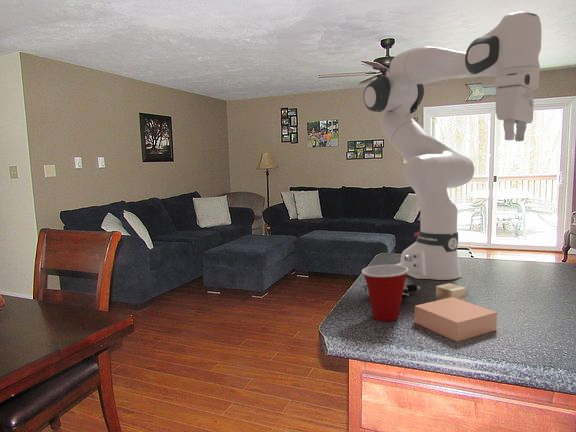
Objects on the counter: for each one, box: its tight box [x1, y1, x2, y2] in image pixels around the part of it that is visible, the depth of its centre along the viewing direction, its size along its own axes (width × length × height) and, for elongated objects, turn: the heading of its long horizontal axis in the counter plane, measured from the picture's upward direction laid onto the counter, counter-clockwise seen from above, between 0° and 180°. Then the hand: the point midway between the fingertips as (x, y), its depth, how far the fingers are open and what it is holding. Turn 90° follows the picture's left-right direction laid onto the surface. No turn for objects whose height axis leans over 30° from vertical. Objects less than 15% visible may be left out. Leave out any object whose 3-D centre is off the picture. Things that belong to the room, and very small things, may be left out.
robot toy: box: [359, 281, 421, 300], centre depth 113 cm, size 12×4×15 cm
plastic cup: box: [361, 264, 408, 322], centre depth 98 cm, size 11×11×12 cm
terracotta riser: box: [414, 297, 498, 342], centre depth 92 cm, size 12×12×4 cm
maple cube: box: [435, 282, 467, 302], centre depth 105 cm, size 5×5×5 cm
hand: (514, 140), depth 102 cm, fingers open, 8 cm apart
